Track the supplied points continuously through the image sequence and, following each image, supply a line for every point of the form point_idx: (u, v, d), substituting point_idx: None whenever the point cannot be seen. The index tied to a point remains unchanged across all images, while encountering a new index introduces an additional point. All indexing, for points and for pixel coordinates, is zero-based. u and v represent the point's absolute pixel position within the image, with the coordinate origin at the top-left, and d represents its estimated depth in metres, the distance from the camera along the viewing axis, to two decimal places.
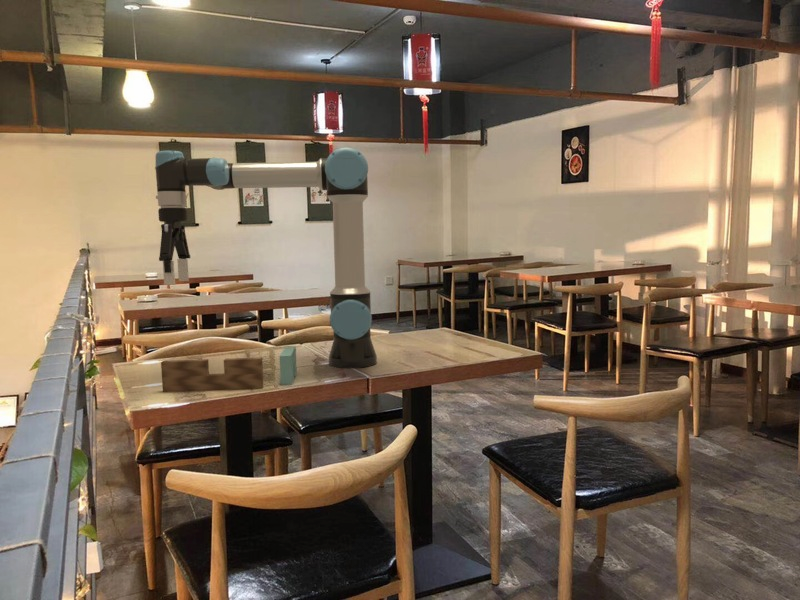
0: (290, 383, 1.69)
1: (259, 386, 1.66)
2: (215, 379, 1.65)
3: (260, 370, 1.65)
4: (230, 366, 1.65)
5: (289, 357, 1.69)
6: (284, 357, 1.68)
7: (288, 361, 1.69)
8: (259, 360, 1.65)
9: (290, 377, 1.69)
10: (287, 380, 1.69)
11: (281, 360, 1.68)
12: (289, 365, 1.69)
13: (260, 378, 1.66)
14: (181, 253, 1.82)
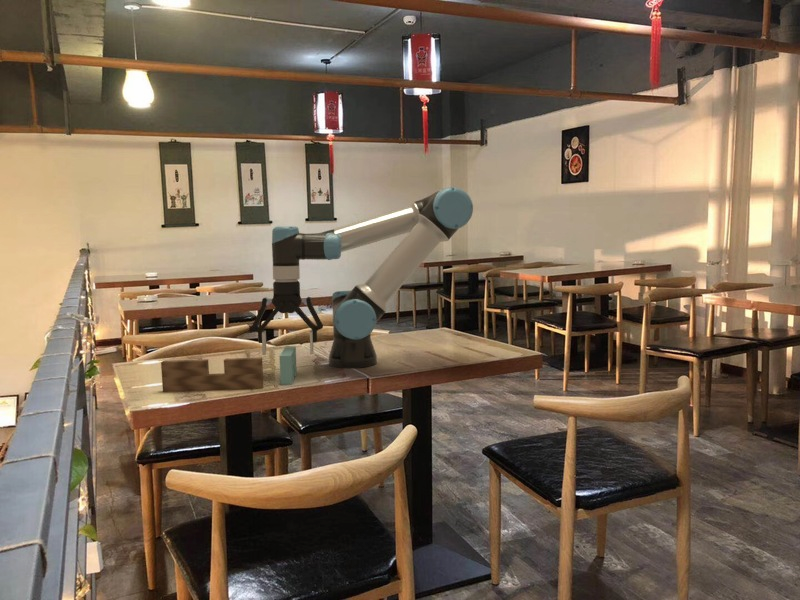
0: (290, 383, 1.69)
1: (259, 386, 1.66)
2: (215, 379, 1.65)
3: (260, 370, 1.65)
4: (230, 366, 1.65)
5: (289, 357, 1.69)
6: (284, 357, 1.68)
7: (288, 361, 1.69)
8: (259, 360, 1.65)
9: (290, 377, 1.69)
10: (287, 380, 1.69)
11: (281, 360, 1.68)
12: (289, 365, 1.69)
13: (260, 378, 1.66)
14: None
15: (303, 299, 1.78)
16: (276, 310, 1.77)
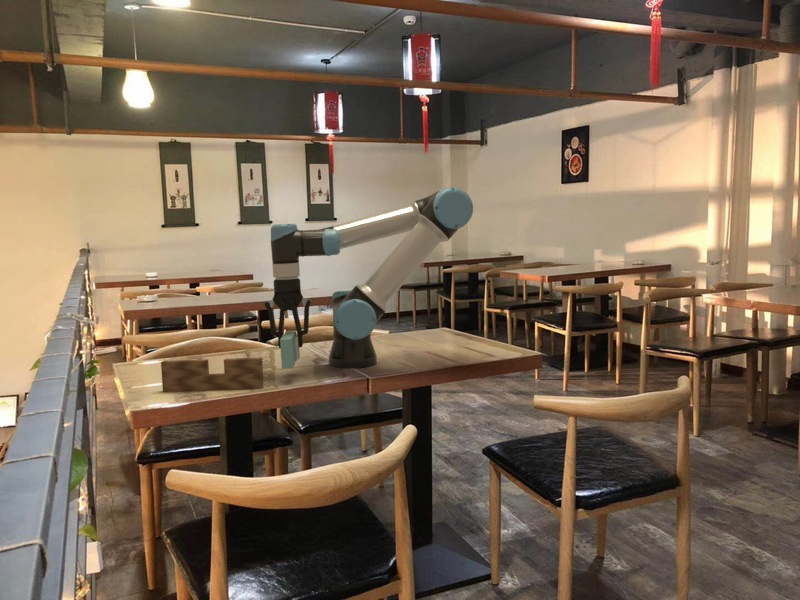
0: (291, 367, 1.69)
1: (259, 386, 1.66)
2: (215, 379, 1.65)
3: (260, 370, 1.65)
4: (230, 366, 1.65)
5: (290, 340, 1.68)
6: (285, 341, 1.68)
7: (289, 344, 1.68)
8: (259, 360, 1.65)
9: (291, 361, 1.69)
10: (288, 364, 1.69)
11: (282, 344, 1.68)
12: (290, 348, 1.68)
13: (260, 378, 1.66)
14: None
15: (304, 299, 1.78)
16: (282, 309, 1.77)
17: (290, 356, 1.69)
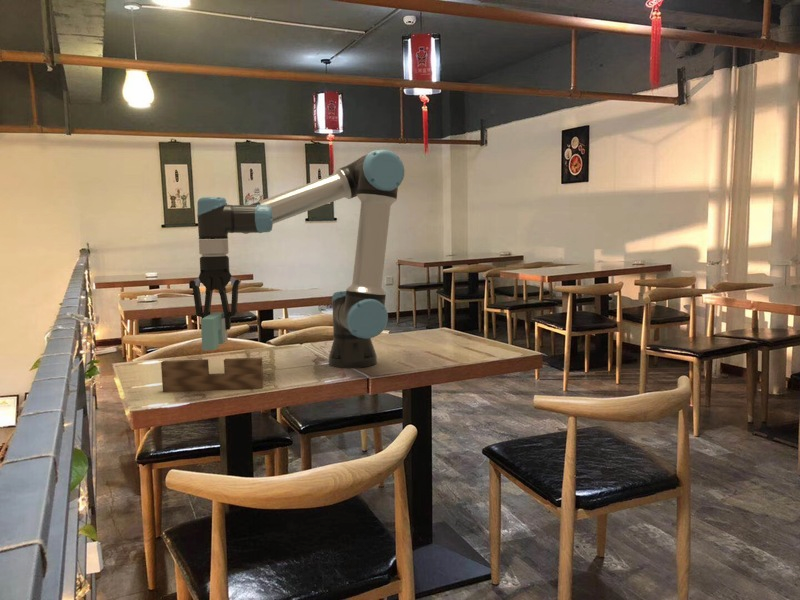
0: (212, 348, 1.58)
1: (259, 386, 1.66)
2: (215, 379, 1.65)
3: (260, 370, 1.65)
4: (230, 366, 1.65)
5: (211, 320, 1.57)
6: (206, 320, 1.57)
7: (210, 325, 1.57)
8: (259, 360, 1.65)
9: (212, 342, 1.58)
10: (209, 345, 1.58)
11: (203, 324, 1.57)
12: (211, 329, 1.57)
13: (260, 378, 1.66)
14: None
15: (232, 278, 1.67)
16: (208, 289, 1.66)
17: (211, 337, 1.58)
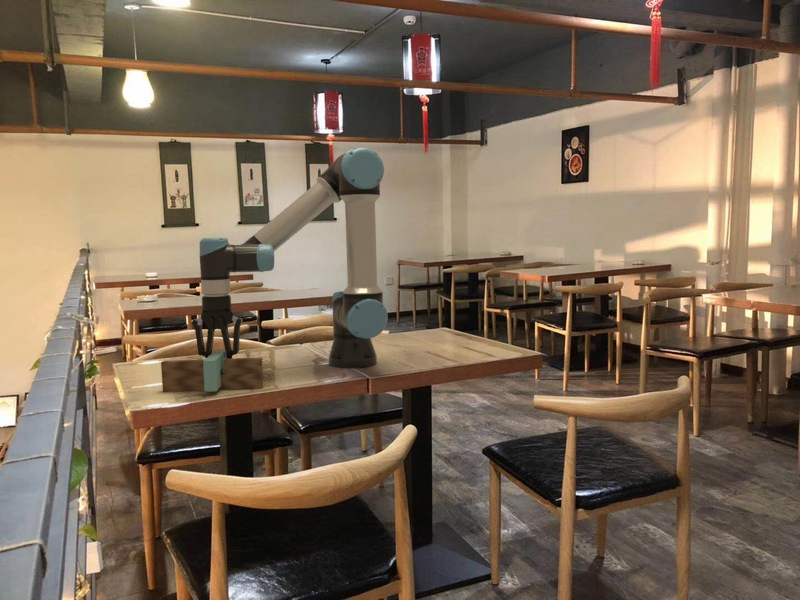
0: (215, 390, 1.59)
1: (259, 386, 1.66)
2: None
3: (260, 370, 1.65)
4: (230, 366, 1.65)
5: (213, 362, 1.58)
6: (208, 362, 1.58)
7: (212, 366, 1.58)
8: (259, 360, 1.65)
9: (215, 383, 1.59)
10: (211, 386, 1.59)
11: (205, 365, 1.58)
12: (213, 370, 1.58)
13: (260, 378, 1.66)
14: None
15: (234, 318, 1.68)
16: (210, 328, 1.67)
17: (213, 378, 1.59)
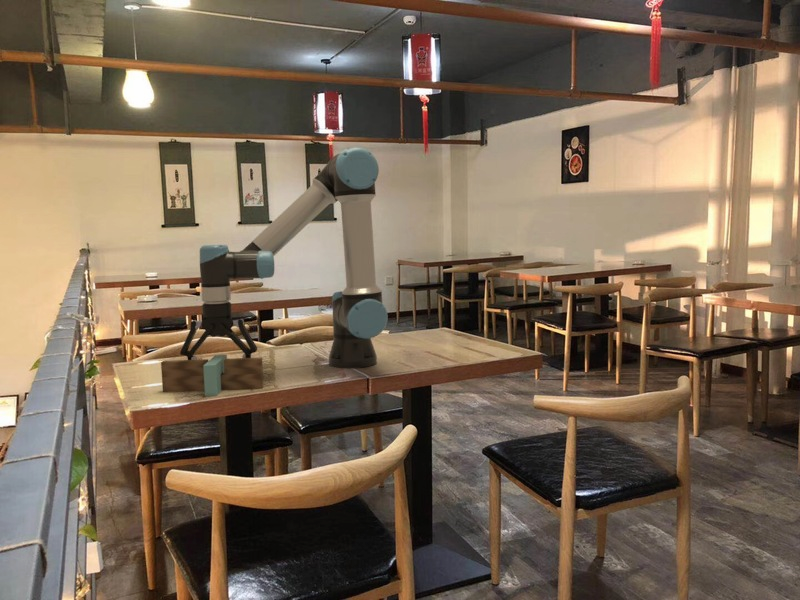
0: (215, 394, 1.59)
1: (259, 386, 1.66)
2: None
3: (260, 370, 1.65)
4: (230, 366, 1.65)
5: (214, 366, 1.58)
6: (208, 366, 1.58)
7: (213, 371, 1.59)
8: (259, 360, 1.65)
9: (215, 388, 1.59)
10: (212, 391, 1.59)
11: (205, 370, 1.58)
12: (214, 375, 1.59)
13: (260, 378, 1.66)
14: None
15: (235, 321, 1.68)
16: (206, 333, 1.67)
17: (214, 383, 1.59)
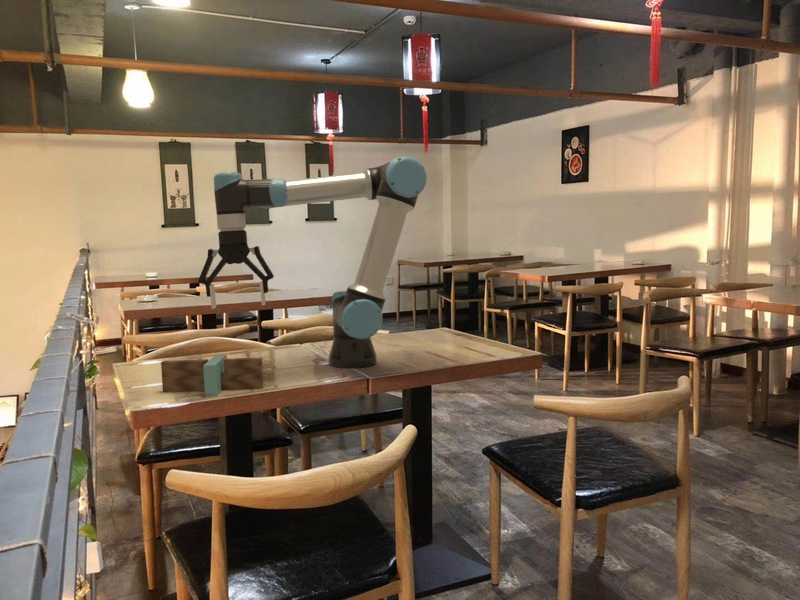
0: (215, 394, 1.59)
1: (259, 386, 1.66)
2: None
3: (260, 370, 1.65)
4: (230, 366, 1.65)
5: (214, 366, 1.58)
6: (208, 366, 1.58)
7: (213, 371, 1.59)
8: (259, 360, 1.65)
9: (215, 388, 1.59)
10: (212, 391, 1.59)
11: (205, 370, 1.58)
12: (214, 375, 1.59)
13: (260, 378, 1.66)
14: None
15: (251, 248, 1.71)
16: (223, 261, 1.70)
17: (214, 383, 1.59)
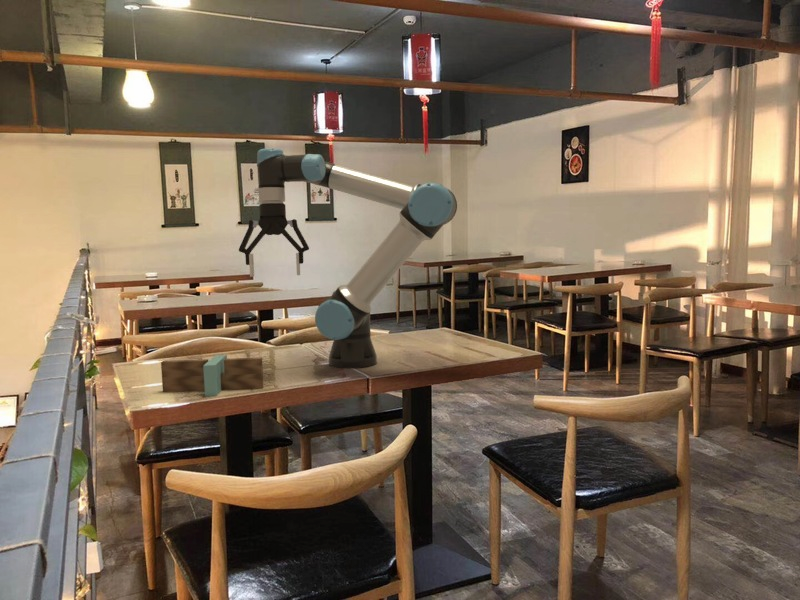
0: (215, 394, 1.59)
1: (259, 386, 1.66)
2: None
3: (260, 370, 1.65)
4: (230, 366, 1.65)
5: (214, 366, 1.58)
6: (208, 366, 1.58)
7: (213, 371, 1.59)
8: (259, 360, 1.65)
9: (215, 388, 1.59)
10: (212, 391, 1.59)
11: (205, 370, 1.58)
12: (214, 375, 1.59)
13: (260, 378, 1.66)
14: None
15: (289, 221, 1.82)
16: (262, 232, 1.80)
17: (214, 383, 1.59)
